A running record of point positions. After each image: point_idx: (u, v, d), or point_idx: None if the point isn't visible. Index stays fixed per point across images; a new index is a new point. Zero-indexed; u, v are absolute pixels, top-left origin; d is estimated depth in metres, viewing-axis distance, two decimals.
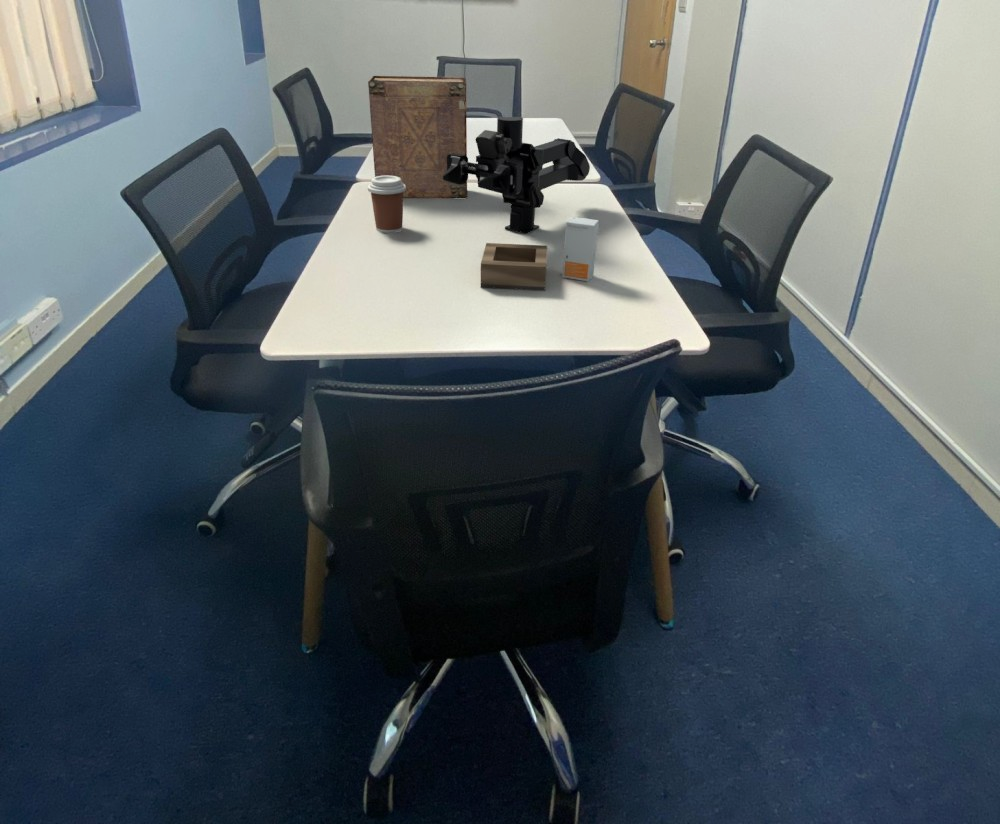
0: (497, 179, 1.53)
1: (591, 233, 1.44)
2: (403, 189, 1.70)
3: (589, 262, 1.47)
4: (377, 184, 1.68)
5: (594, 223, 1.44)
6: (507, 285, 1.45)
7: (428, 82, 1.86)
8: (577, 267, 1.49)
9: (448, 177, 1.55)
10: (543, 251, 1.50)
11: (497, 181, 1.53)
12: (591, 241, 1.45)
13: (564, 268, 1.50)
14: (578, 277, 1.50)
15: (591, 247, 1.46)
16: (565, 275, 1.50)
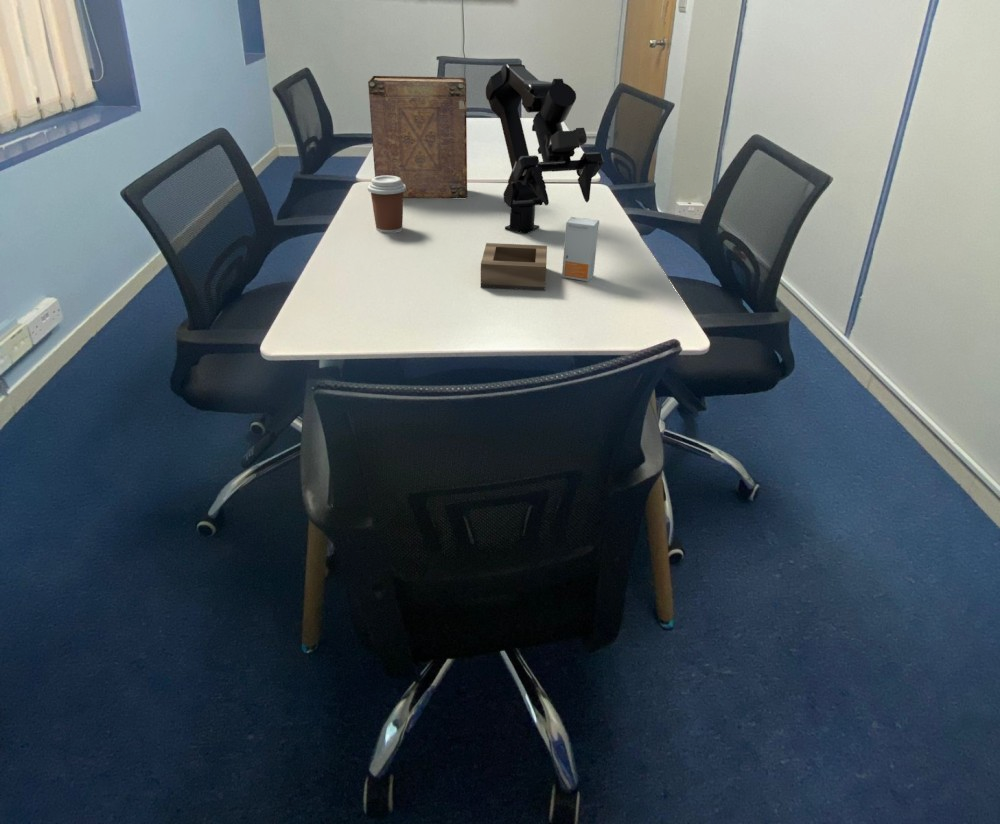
0: None
1: (591, 233, 1.44)
2: (403, 189, 1.70)
3: (589, 262, 1.47)
4: (377, 184, 1.68)
5: (594, 223, 1.44)
6: (507, 285, 1.45)
7: (428, 82, 1.86)
8: (577, 267, 1.49)
9: None
10: (543, 251, 1.50)
11: None
12: (591, 241, 1.45)
13: (564, 267, 1.50)
14: (578, 277, 1.50)
15: (591, 247, 1.46)
16: (565, 275, 1.50)
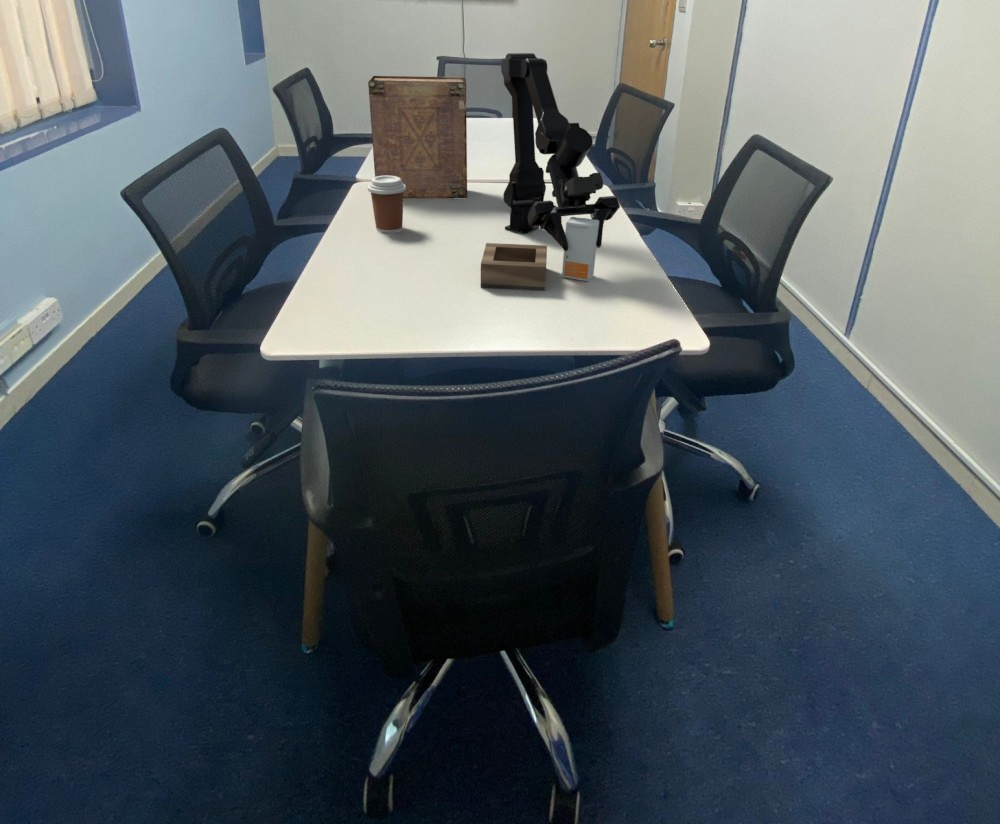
0: None
1: (591, 233, 1.44)
2: (403, 189, 1.70)
3: (589, 262, 1.47)
4: (377, 184, 1.68)
5: (594, 223, 1.44)
6: (507, 285, 1.45)
7: (428, 82, 1.86)
8: (577, 267, 1.49)
9: None
10: (543, 251, 1.50)
11: None
12: (591, 241, 1.45)
13: (564, 267, 1.50)
14: (578, 277, 1.50)
15: (591, 247, 1.46)
16: (565, 275, 1.50)
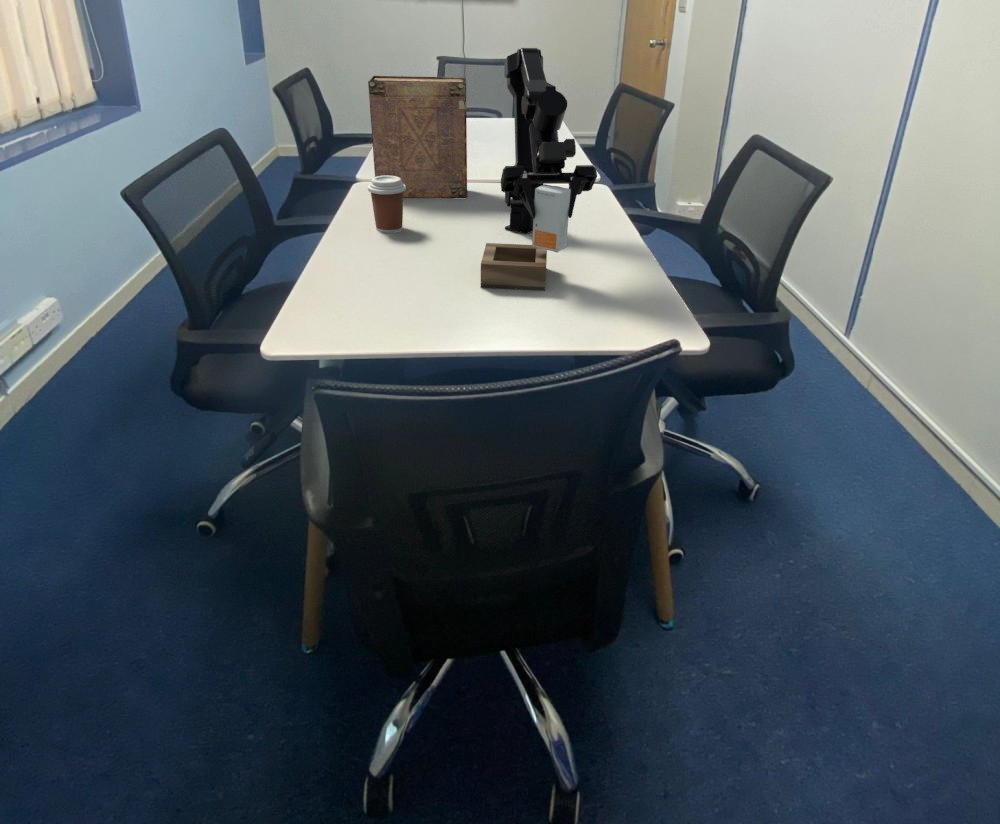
0: None
1: (558, 201, 1.39)
2: (403, 189, 1.70)
3: (557, 232, 1.42)
4: (377, 184, 1.68)
5: (563, 191, 1.39)
6: (507, 285, 1.45)
7: (428, 82, 1.86)
8: (546, 237, 1.44)
9: None
10: (543, 251, 1.50)
11: None
12: (558, 210, 1.40)
13: (533, 236, 1.46)
14: (547, 247, 1.45)
15: (559, 216, 1.41)
16: (535, 244, 1.46)
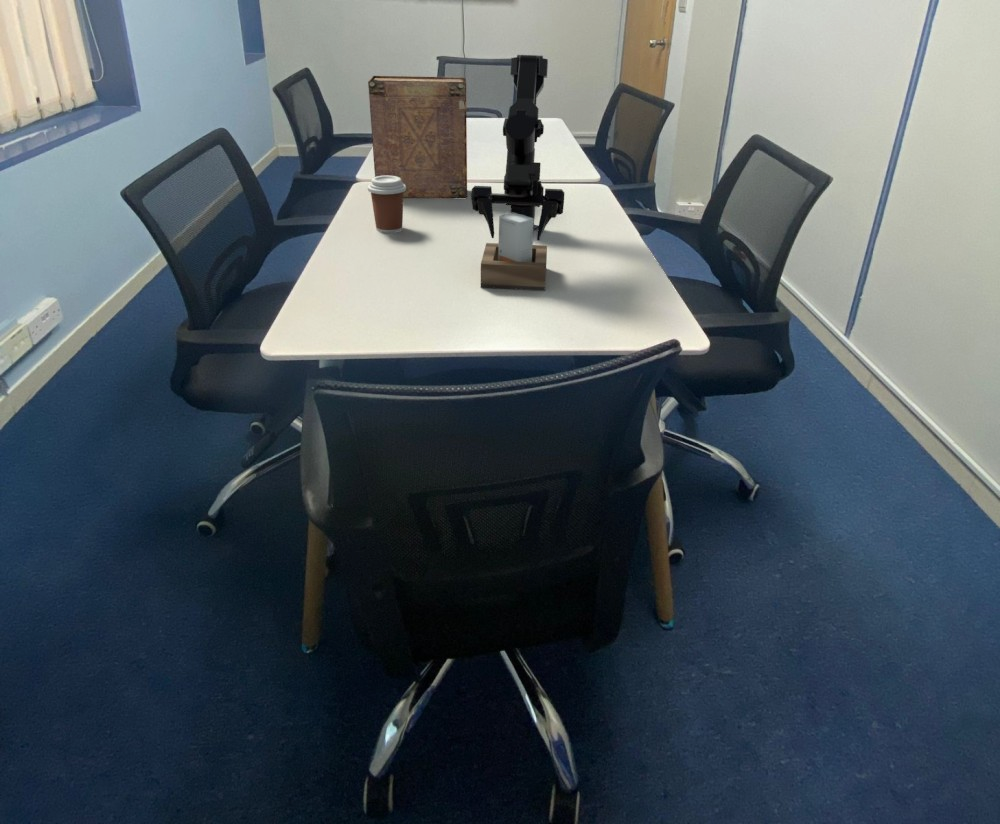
0: None
1: (518, 230, 1.42)
2: (403, 189, 1.70)
3: (517, 259, 1.45)
4: (377, 184, 1.68)
5: (524, 220, 1.42)
6: (507, 285, 1.45)
7: (428, 82, 1.86)
8: None
9: None
10: (543, 251, 1.50)
11: None
12: (518, 238, 1.43)
13: None
14: None
15: (519, 244, 1.44)
16: None
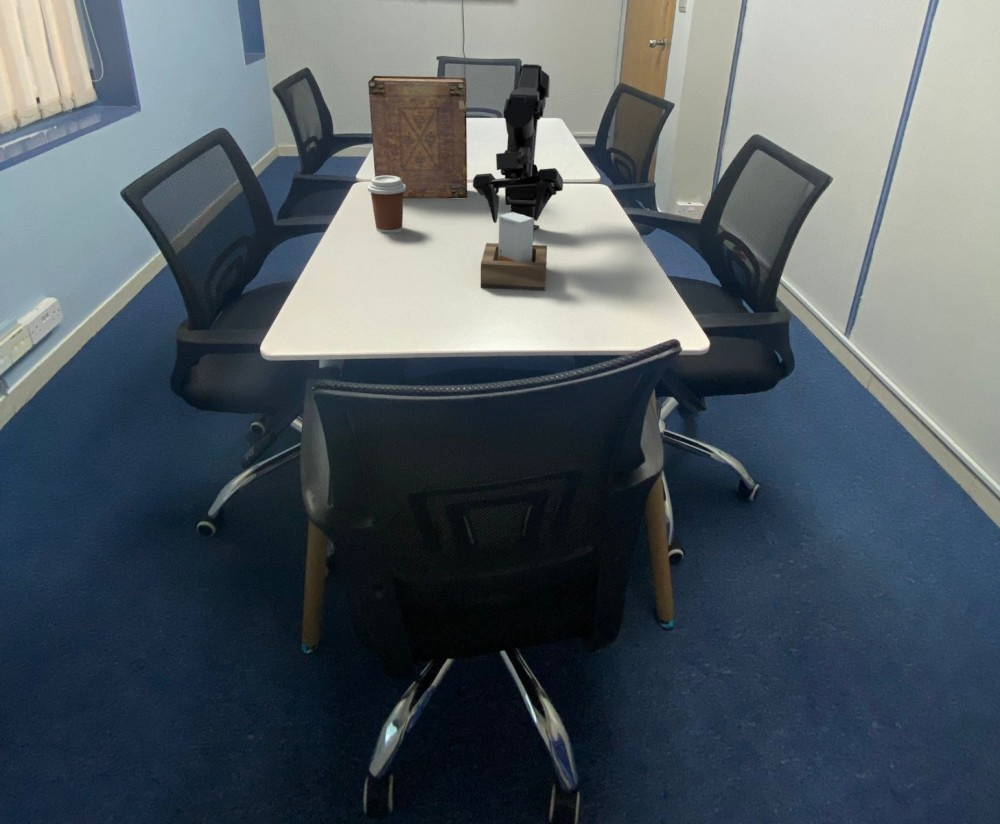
0: None
1: (518, 230, 1.42)
2: (403, 189, 1.70)
3: (517, 259, 1.45)
4: (377, 184, 1.68)
5: (524, 220, 1.42)
6: (507, 285, 1.45)
7: (428, 82, 1.86)
8: None
9: (496, 215, 1.55)
10: (543, 251, 1.50)
11: (542, 195, 1.52)
12: (518, 238, 1.43)
13: None
14: None
15: (519, 244, 1.44)
16: None
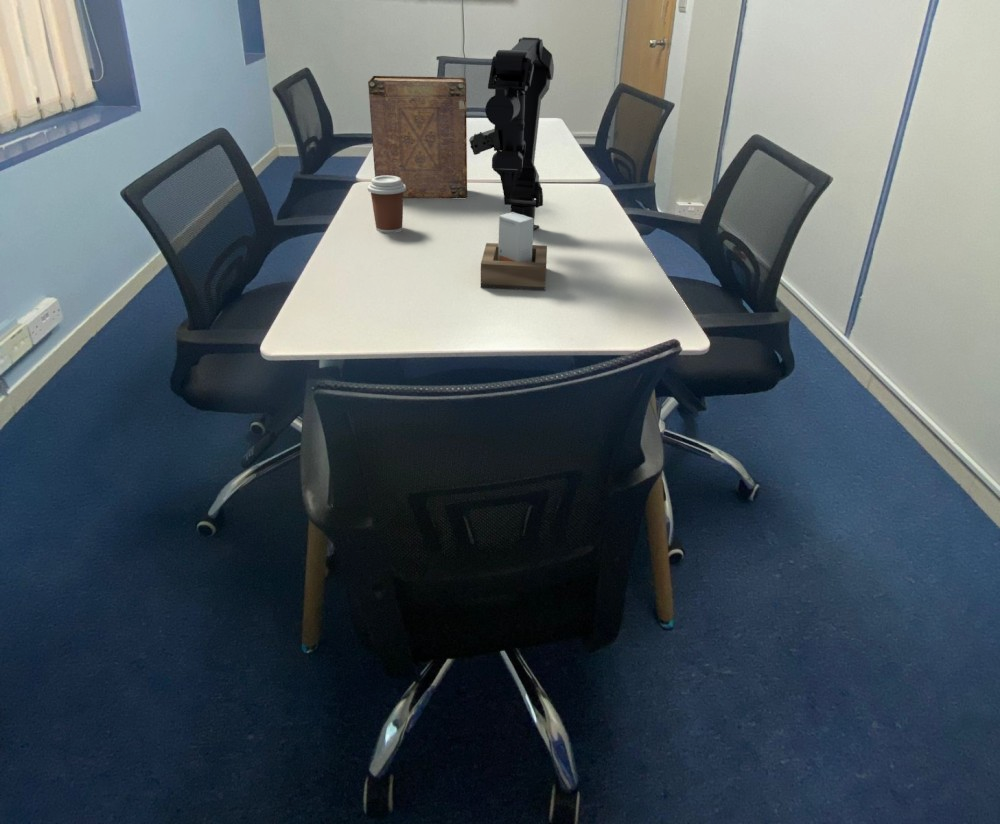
0: (506, 175, 1.50)
1: (518, 230, 1.42)
2: (403, 189, 1.70)
3: (517, 259, 1.45)
4: (377, 184, 1.68)
5: (524, 220, 1.42)
6: (507, 285, 1.45)
7: (428, 82, 1.86)
8: None
9: None
10: (543, 251, 1.50)
11: (508, 175, 1.50)
12: (518, 238, 1.43)
13: None
14: None
15: (519, 244, 1.44)
16: None
